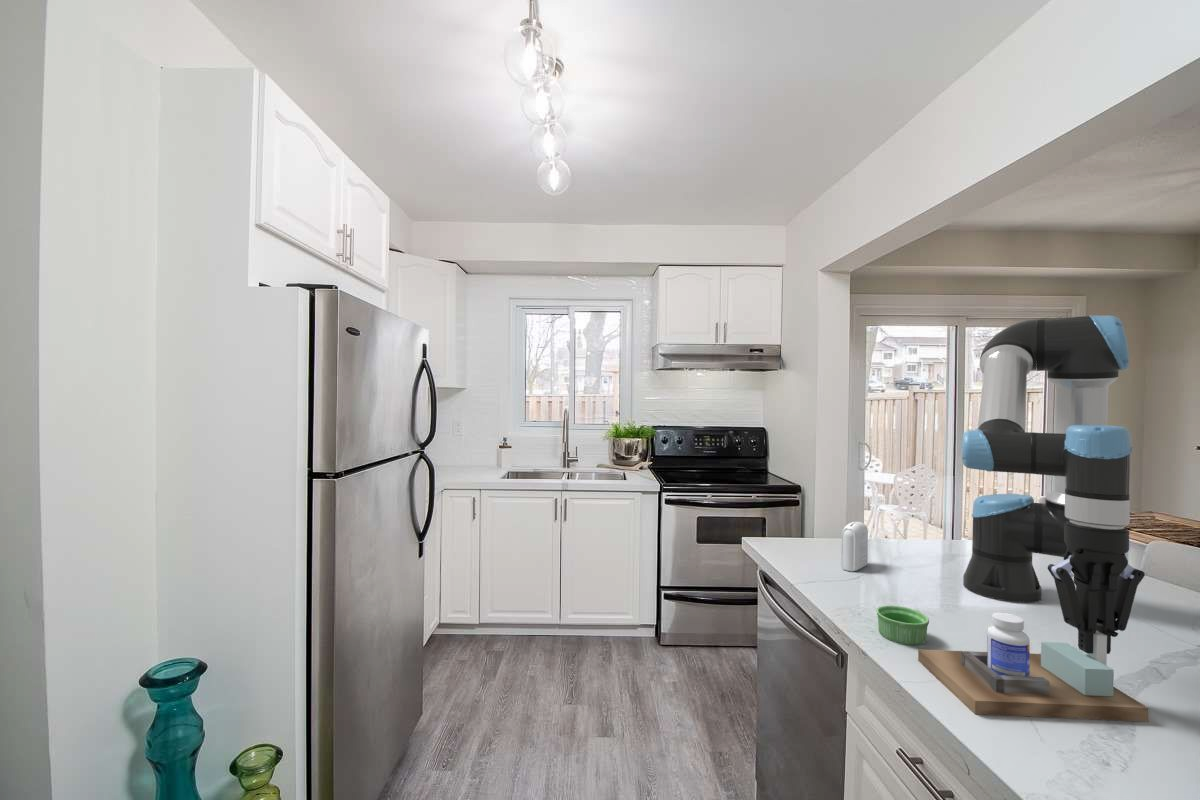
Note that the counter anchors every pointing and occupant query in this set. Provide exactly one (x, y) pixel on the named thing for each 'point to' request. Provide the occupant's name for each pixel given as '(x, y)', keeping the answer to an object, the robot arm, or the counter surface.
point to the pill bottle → (1008, 646)
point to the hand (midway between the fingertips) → (1093, 672)
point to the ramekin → (902, 625)
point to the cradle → (1023, 690)
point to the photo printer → (854, 546)
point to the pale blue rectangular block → (1077, 669)
